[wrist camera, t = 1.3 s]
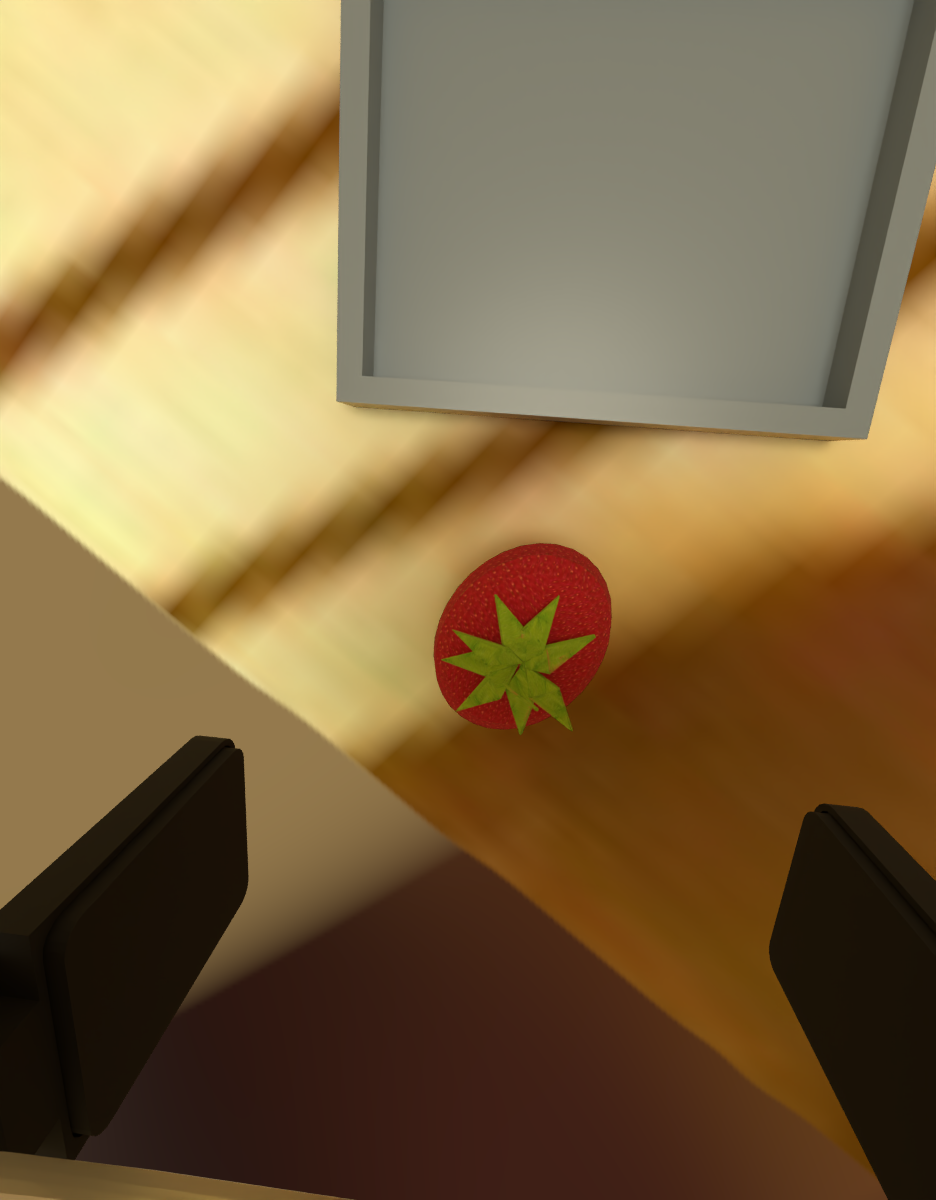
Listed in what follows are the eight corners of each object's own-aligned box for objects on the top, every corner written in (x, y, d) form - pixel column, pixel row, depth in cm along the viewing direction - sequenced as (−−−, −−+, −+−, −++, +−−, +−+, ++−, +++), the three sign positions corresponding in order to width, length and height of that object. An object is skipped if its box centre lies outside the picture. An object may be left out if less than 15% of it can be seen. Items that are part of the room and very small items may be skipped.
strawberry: (623, 576, 25) (689, 652, 15) (519, 695, 27) (519, 829, 17) (520, 495, 24) (522, 521, 15) (422, 623, 26) (366, 719, 17)
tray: (830, 440, 23) (867, 439, 20) (354, 406, 24) (336, 401, 22) (945, -52, 19) (1008, -127, 16) (363, -60, 20) (342, -131, 18)
